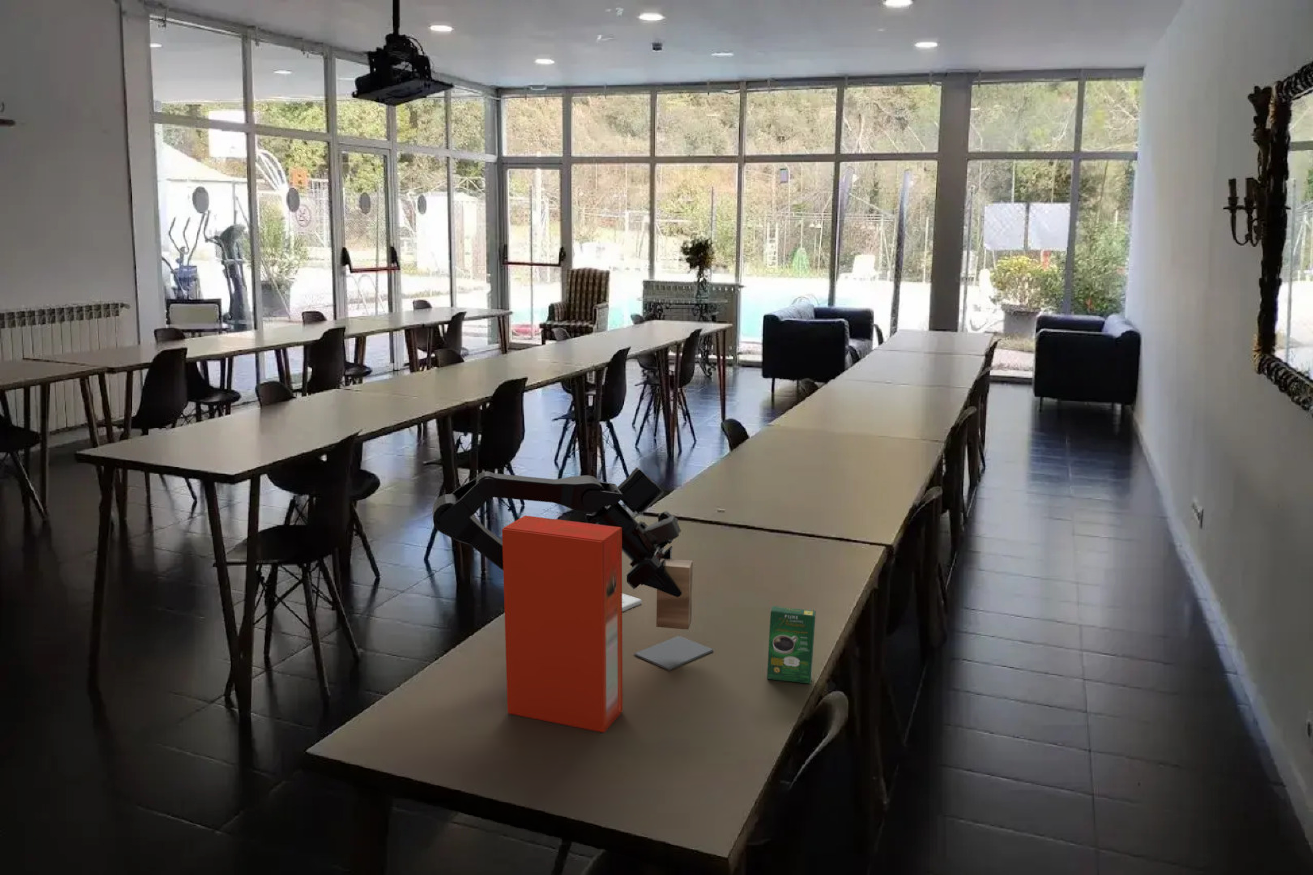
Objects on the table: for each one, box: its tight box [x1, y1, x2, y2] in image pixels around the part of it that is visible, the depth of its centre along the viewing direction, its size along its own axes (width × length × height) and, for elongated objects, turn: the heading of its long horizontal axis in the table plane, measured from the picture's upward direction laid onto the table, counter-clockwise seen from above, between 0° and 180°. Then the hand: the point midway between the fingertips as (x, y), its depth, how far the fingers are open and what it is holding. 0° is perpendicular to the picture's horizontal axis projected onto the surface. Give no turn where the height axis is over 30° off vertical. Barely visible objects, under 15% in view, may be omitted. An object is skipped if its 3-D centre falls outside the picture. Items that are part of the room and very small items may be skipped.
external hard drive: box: [622, 593, 642, 613], centre depth 215 cm, size 2×8×12 cm
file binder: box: [501, 515, 624, 733], centre depth 165 cm, size 8×17×32 cm, turn 69°
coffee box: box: [766, 605, 816, 685], centre depth 180 cm, size 8×3×13 cm, turn 77°
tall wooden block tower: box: [655, 558, 694, 630], centre depth 189 cm, size 4×6×12 cm, turn 80°
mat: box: [633, 635, 714, 671], centre depth 192 cm, size 12×9×1 cm
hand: (681, 591), depth 189 cm, fingers closed on tall wooden block tower, 4 cm apart
